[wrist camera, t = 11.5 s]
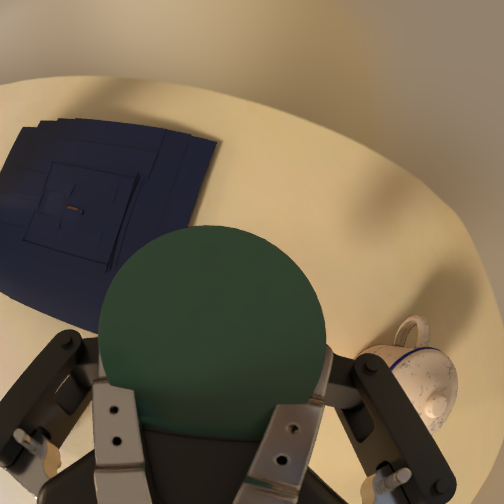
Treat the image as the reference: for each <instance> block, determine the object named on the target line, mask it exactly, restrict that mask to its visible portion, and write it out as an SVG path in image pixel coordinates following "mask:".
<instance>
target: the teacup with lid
mask: <svg viewBox="0 0 504 504" xmlns="http://www.w3.org/2000/svg"><path fill="white" fill-rule="evenodd" d="M416 324H417V327H418V336H417V341H416V346H415V349H414V348H405V347H404V344H405V340H406V337H407V335H408V333H409V331H410V330H411V328H412V327H413V326H415V325H416ZM429 335H430V328H429V324H428V321H427V319H426V318H424V317H423V316H419V315H413V316H410V317H409V318H407V319H406V320H405V321H404V322H403V323H402V324H401V326H400V327H399V329H398V331H397V333H396V336H395V340H394V343H393V346H389V345H377V346H373V347H370V348H368V349H366V350H364V351H363V352H361V353H360V354H359V355H361V354H364V353H372V354H376V355H378V356H380V357H381V358H382V359H383V360H384V361H385V362H386V364H387V365H388V367H389V368H390V370H391V371H392V373H393V374H394V376H395V377H396V379H397V380H398V382H399V384H400V385H401V387H402V388H403V390H404V391H405V393H406V395H407V396H408V398H409V399H410V401H411V403H412V404H413V406H414V407H415V409H416V411H417V412H418V414H419V416H420V417H421V419H422V420H423V422H424V424H425V425H426V427H427V429H428V430H429V432H430V434H431V436H432V435H433V434H434V433H436V432H437V431H438V430H439V429H440V427H441V426H442V425H443V424H444V422H445V421H446V420H447V418H448V416H449V415H450V413H451V411H452V408H453V406H454V403H455V400H456V396H457V389H458V379H457V373H456V369H455V367H454V365H453V363H452V361H451V360H450V358H449V357H448V356H447V355H446V354H444V353H443V352H442V351H440V350H438V349H435V348H431V347H427V346H428V341H429ZM359 355H358V356H359ZM358 356H357V357H358ZM357 357H356V358H357ZM356 358H355V359H356ZM355 359H354V360H355Z"/></svg>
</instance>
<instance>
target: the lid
mask: <svg viewBox="0 0 504 504" xmlns="http://www.w3.org/2000/svg"><path fill="white" fill-rule="evenodd" d="M98 342H99V352H100V357H101V361H102V366H103V369H104V371H105V374H106V377H107V380H108V382H109V384H110V385H111V386H115V387H119V388H124V389H129V390H134V392H135V396H136V400H137V404H138V407H139V411H140V415H141V420H142V425H143V426H146V427H151V428H156V429H162V430H168V431H174V432H181V433H189V434H197V435H206V436H217V437H231V438H255V439H262V438H263V436H264V433H265V431H266V428H267V426H268V424H269V421H270V419H271V416H272V414H273V411H274V408H275V406H276V405H286V404H306V403H307V402H308V400H309V399H310V397H311V396H312V394H313V392H314V390H315V388H316V386H317V384H318V382H319V379H320V376H321V372H322V369H323V366H324V360H325V354H326V329H325V321H324V317H323V313H322V309H321V305H320V303H319V300H318V298H317V295H316V293H315V291H314V289H313V287H312V285H311V284H310V282H309V280H308V279H307V277H306V276H305V275H304V273H303V272H302V270H301V269H300V268H299V267H298V266H297V265H296V263H295V262H294V261H293V260H292V259H291V258H290V257H289V256H288V255H286V254H285V253H284V252H283V251H281V250H280V249H279V248H278V247H276V246H275V245H273V244H271V243H270V242H268V241H266V240H265V239H263V238H261V237H258V236H256V235H254V234H252V233H249V232H246V231H243V230H239V229H236V228H230V227H224V226H209V225H204V226H194V227H188V228H183V229H179V230H175V231H173V232H170V233H167V234H164V235H162V236H160V237H158V238H156V239H154V240H153V241H151V242H149V243H148V244H146V245H145V246H143V247H142V248H141V249H139V250H138V251H137V252H136V253H135V254H134V255H132V256H131V257H130V258H129V259H128V260H127V261H126V263H125V264H124V265H123V266H122V267H121V269H120V270H119V271H118V273H117V274H116V276H115V277H114V279H113V281H112V282H111V284H110V286H109V289H108V291H107V293H106V295H105V298H104V301H103V305H102V308H101V313H100V319H99V328H98Z"/></svg>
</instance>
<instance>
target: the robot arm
mask: <svg viewBox="0 0 504 504" xmlns="http://www.w3.org/2000/svg"><path fill="white" fill-rule="evenodd" d="M68 375H69V377H68V378H67V379H66V381H65V382H64V383H63V384H62V382H63V381H64V380H65V378H66V377H67V376H68ZM61 384H62V386H61V387H60V388H59V386H60V385H61ZM58 388H59V390H58V391H57V392H56V390H57V389H58ZM55 392H56V394H55ZM91 400H92V412H93V434H94V448H95V449H93V450H92V451H90V452H89V453H88V454H86V455H85V456H83V457H82V458H80V459H79V460H78V461H76V462H75V463H73V464H72V465H70V466H69V467H67V468H66V469H64V470H63V471H61V472H60V473H58V474H57V469H58V468H60V466H61V460H60V452H59V448H60V447H61V445H62V444H63V442H64V441H65V439H66V438H67V436H68V435H69V433H70V431H71V430H72V428H73V427H74V425H75V424H76V422H77V421H78V419H79V418H80V416H81V415H82V413H83V412H84V410H85V409H86V407H87V406H88V405H89V403H90V402H91ZM325 405H327V406H331V407H334V408H335V410H336V412H337V415H338V417H339V419H340V421H341V423H342V425H343V427H344V429H345V431H346V433H347V436H348V438H349V440H350V442H351V444H352V446H353V448H354V450H355V452H356V455H357V457H358V459H359V461H360V463H361V465H362V467H363V469H364V471H365V474H366V476H367V478H366V479H365V480H364V482H363V483H362V486H361V496H362V504H445V503H447V502H448V501H450V500H451V498H452V497H453V496H454V494H455V491H456V486H457V483H456V478H455V476H454V474H453V472H452V471H451V469H450V467H449V465H448V463H447V462H446V460H445V458H444V456H443V455H442V453H441V451H440V449H439V448H438V446H437V444H436V442H435V441H434V439H433V437H432V436H431V434H430V432H429V430H428V429H427V427H426V425H425V424H424V422H423V420H422V419H421V417H420V416H419V414H418V412H417V411H416V409H415V407H414V406H413V404H412V403H411V401H410V399H409V398H408V396H407V395H406V393H405V391H404V390H403V388H402V387H401V385H400V384H399V382H398V380H397V379H396V377H395V376H394V374H393V373H392V371H391V370H390V368H389V367H388V365H387V364H386V362H385V361H384V360H383V359H382V358H381V357H380V356H378V355H376V354H372V353H364V354H361V355H359V356H358V357H357V358H356V359H355V360H354V359H349V358H345V357H341V356H338V355H336V354H335V353H333V351H332V349H331V348H330V347H329V346H328V345H327V344H326V354H325V360H324V366H323V369H322V372H321V376H320V379H319V382H318V384H317V386H316V388H315V390H314V392H313V394H312V396H311V397H310V399H309V400H308V402H307V403H306V404H286V405H276V406H275V408H274V411H273V414H272V416H271V419H270V421H269V424H268V426H267V428H266V431H265V433H264V436H263V438H262V439H255V438H231V437H217V436H206V435H197V434H189V433H181V432H174V431H168V430H162V429H156V428H151V427H146V426H143V425H142V420H141V415H140V411H139V407H138V404H137V400H136V396H135V392H134V390H129V389H124V388H119V387H115V386H111V385H110V384H109V382H108V380H107V377H106V374H105V371H104V369H103V366H102V361H101V357H100V352H99V342H98V337H95V338H85V339H82V337H81V335H80V334H79V333H78V332H77V331H75V330H72V329H68V330H63V331H61V332H59V333H58V334H57V335H56V336H55V337H54V338H53V339H52V340H51V341H50V342H49V343H48V345H47V346H46V347H45V348H44V349H43V350H42V351H41V352H40V354H39V355H38V356H37V357H36V358H35V359H34V361H33V362H32V363H31V364H30V365H29V366H28V368H27V369H26V370H25V371H24V372H23V374H22V375H21V376H20V377H19V379H18V380H17V381H16V382H15V384H14V385H13V386H12V387H11V389H10V390H9V391H8V392H7V394H6V395H5V396H4V398H3V399H2V400H1V401H0V467H1V468H3V469H4V470H6V471H8V472H9V473H10V474H11V475H12V476H13V477H14V478H15V479H16V480H17V481H18V482H19V483H20V484H21V485H22V486H23V487H24V488H25V489H26V490H27V491H29V492H30V493H31V494H32V495H33V496H34V497H35V498H36V499H37V504H348V503H347V502H346V501H345V500H344V499H342V498H341V497H340V496H339V495H338V494H337V493H336V492H335V491H334V490H333V489H332V488H330V487H329V486H328V485H327V484H326V483H325V482H324V481H323V480H322V479H321V478H320V477H319V476H318V475H317V474H316V473H315V472H314V471H313V470H312V469H311V468H310V467H309V466H308V464H309V461H310V458H311V454H312V451H313V448H314V444H315V441H316V437H317V434H318V430H319V427H320V423H321V419H322V415H323V411H324V407H325Z"/></svg>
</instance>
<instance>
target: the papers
mask: <svg viewBox="0 0 504 504" xmlns="http://www.w3.org/2000/svg"><path fill="white" fill-rule="evenodd" d="M216 144H217V142H215V141H211V140H207V139H203V138H199V137H195V136H191V134H186V133H181V132H177V131H172V130H167V129H163V128H157V127H150V126H143V125H136V124H129V123H121V122H112V121H103V120H93V119H81V118H75V119H63V118H58V120H57V121H40V123H39V125H38V127H23V128H22V129H21V131H20V133H19V135H18V137H17V139H16V141H15V143H14V145H13V147H12V149H11V151H10V153H9V155H8V157H7V159H6V161H5V163H4V166H3V168H2V170H1V173H0V292H2V293H3V294H5V295H7V296H9V297H10V298H12V299H14V300H16V301H18V302H20V303H22V304H24V305H26V306H29V307H31V308H33V309H35V310H37V311H40V312H42V313H44V314H47V315H49V316H51V317H54V318H56V319H59V320H61V321H64V322H66V323H69V324H71V325H74V326H77V327H79V328H82V329H85V330H87V331H90V332H93V333H96V334H98V328H99V319H100V313H101V308H102V305H103V301H104V298H105V295H106V293H107V291H108V289H109V286H110V284H111V282H112V281H113V279H114V277H115V276H116V274H117V273H118V271H119V270H120V269H121V267H122V266H123V265H124V264H125V263H126V261H127V260H128V259H129V258H130V257H131V256H132V255H134V254H135V253H136V252H137V251H138V250H139V249H141V248H142V247H143V246H145V245H146V244H148V243H149V242H151V241H153V240H154V239H156V238H158V237H160V236H162V235H164V234H167V233H170V232H173V231H175V230H179V229H183V228H187V225H188V222H189V219H190V216H191V213H192V210H193V207H194V204H195V201H196V198H197V195H198V193H199V190H200V187H201V184H202V181H203V178H204V176H205V173H206V170H207V168H208V165H209V162H210V159H211V157H212V154H213V152H214V149H215V146H216Z"/></svg>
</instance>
